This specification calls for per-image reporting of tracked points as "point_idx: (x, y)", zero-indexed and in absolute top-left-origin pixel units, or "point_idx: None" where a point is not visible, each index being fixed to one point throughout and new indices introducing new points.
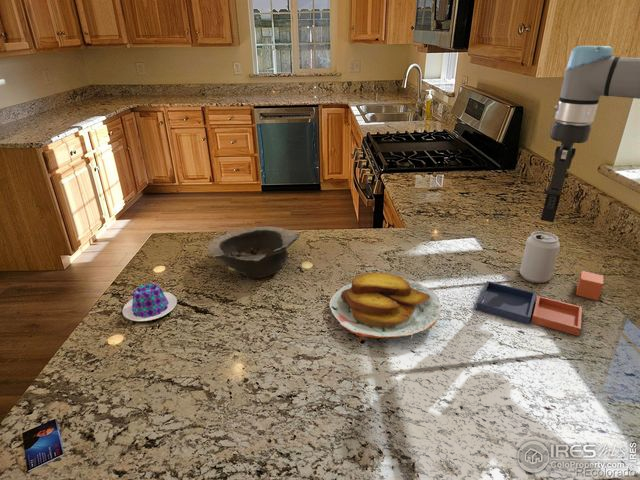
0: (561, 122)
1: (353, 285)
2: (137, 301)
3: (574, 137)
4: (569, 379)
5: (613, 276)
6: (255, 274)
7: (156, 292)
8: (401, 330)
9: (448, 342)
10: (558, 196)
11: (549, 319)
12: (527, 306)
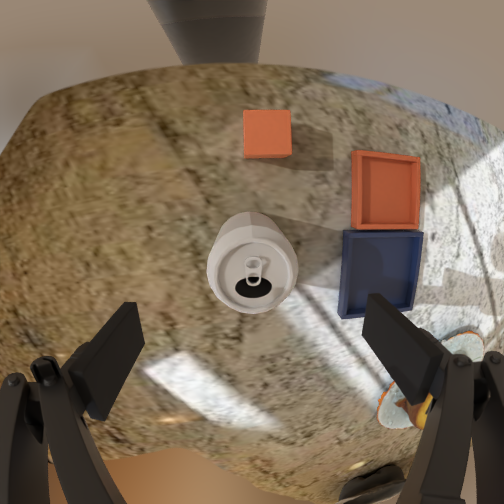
0: None
1: None
2: None
3: None
4: (479, 176)
5: (154, 100)
6: (399, 468)
7: None
8: (468, 350)
9: (465, 306)
10: (438, 357)
11: (418, 203)
12: (376, 238)
